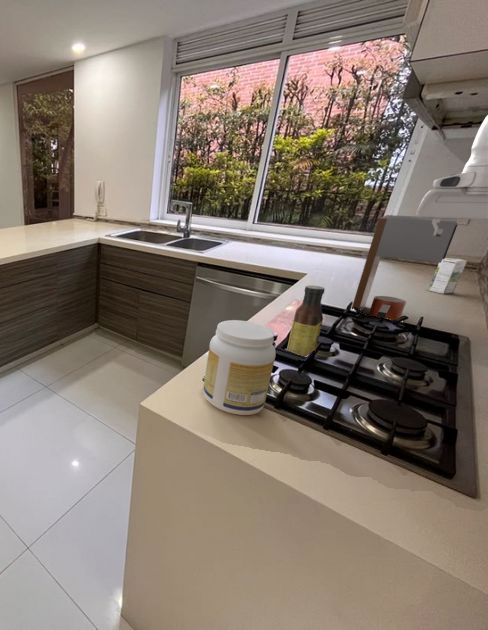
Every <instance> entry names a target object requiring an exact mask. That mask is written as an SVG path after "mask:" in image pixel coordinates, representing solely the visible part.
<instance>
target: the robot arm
mask: <svg viewBox="0 0 488 630" xmlns="http://www.w3.org/2000/svg"><path fill="white" fill-rule="evenodd" d="M470 151H471V152H470V153H471V154H470V157H469V159H468V160H467V162H466V163H465V165H464V167H463V169H462V172H461V173H455V174H450V175H449V176H444V177H439V178H437V179H435V180H433V183H432V187H433V188H432V189H430V190H429V191H428V192H426V193H425V195H424V196H423V198H422V200H421V201H420V203H419V205H418V207H417V210H416V213H415V216H418V217H421V218H433V221H432V224H433V226H434V229H435V232H434V234H433V236H440V237H441V235H442V232H443V229H439V227H438V225H437V223H439V222H440V220H441V218H448V219H457V220H477V221H478V220H479V221H488V114H487V115H486V116H485V118H484V120H483V121H482V122H481V125H480V126H479V128H478V130H477V132H476V136H475V137H474V140H473V143H472V145H471V150H470ZM487 240H488V237H487Z"/></svg>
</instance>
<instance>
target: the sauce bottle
mask: <svg viewBox="0 0 488 630" xmlns="http://www.w3.org/2000/svg"><path fill="white" fill-rule="evenodd" d="M303 290H304V296H303V299H302V303H301V304H300V305H299V306H298V307H297V308H296V310H295V313H294V317H293V320H292V324H291V329H290V333H289V337H288V338H289V339H288V343H287V348H286V350H287V349H288V350H289V351H291V352H293V353H295V354H297V355H301V356H307V355H308V354H309V353H310V352H312V351H314V350H315V349H316V350H317V345H318V341H319V338H320V333H321V329H322V324H323V321H324V317H323V310H322V298H323V295H324V294H325V290H326V289H325V287H324V286H319V285H305V287H304V289H303ZM316 350H315V351H316Z"/></svg>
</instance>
